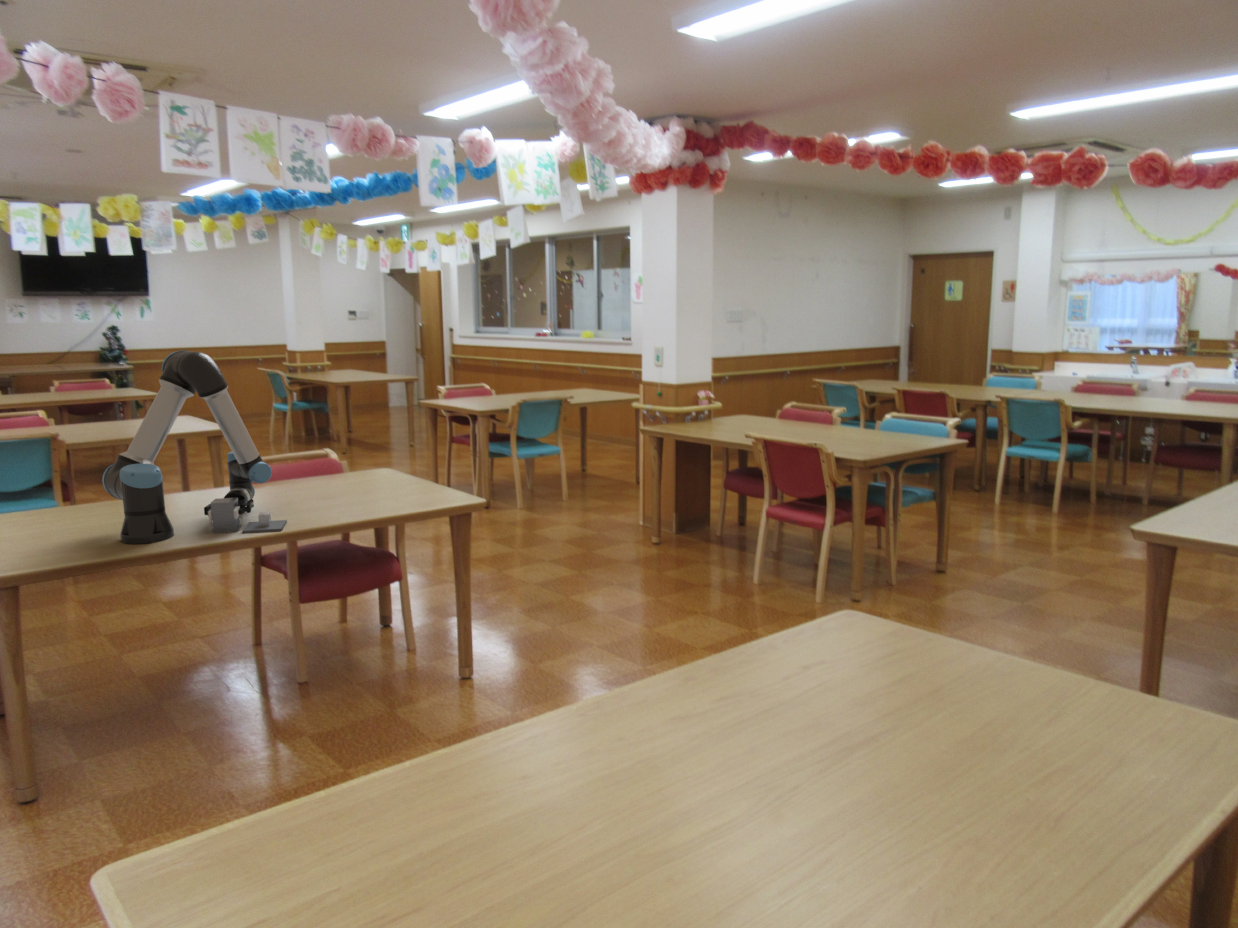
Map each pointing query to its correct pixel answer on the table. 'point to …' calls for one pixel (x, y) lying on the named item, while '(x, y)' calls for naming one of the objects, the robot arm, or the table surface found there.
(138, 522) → the robot arm
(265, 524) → the post
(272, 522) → the base plate
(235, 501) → the grey upright block
